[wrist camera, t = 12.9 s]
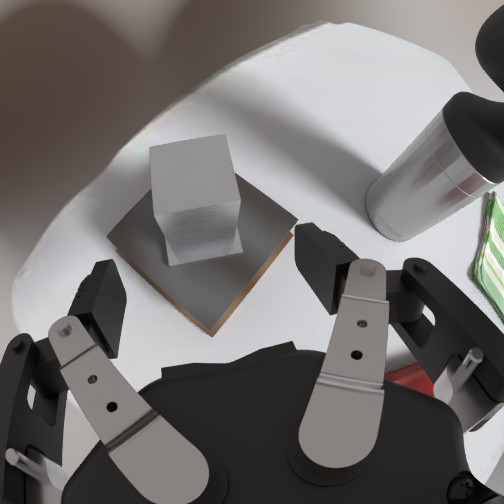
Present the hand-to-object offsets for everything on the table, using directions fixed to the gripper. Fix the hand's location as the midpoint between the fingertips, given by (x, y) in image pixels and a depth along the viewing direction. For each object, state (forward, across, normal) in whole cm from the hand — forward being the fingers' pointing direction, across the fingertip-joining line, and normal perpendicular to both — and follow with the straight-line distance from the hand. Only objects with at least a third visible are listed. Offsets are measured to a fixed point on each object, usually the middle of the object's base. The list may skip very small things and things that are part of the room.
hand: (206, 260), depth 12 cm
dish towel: (+9, -53, +17) cm, 56 cm away
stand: (+17, 0, +8) cm, 19 cm away
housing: (+13, 0, +4) cm, 14 cm away
